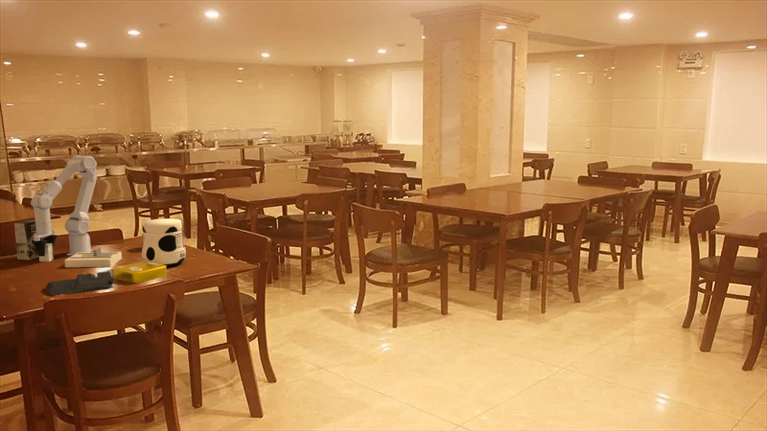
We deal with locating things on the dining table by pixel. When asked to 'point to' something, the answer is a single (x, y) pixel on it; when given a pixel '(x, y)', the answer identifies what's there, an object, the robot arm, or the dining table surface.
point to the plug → (47, 253)
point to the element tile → (140, 272)
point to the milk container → (163, 241)
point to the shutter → (98, 253)
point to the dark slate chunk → (81, 284)
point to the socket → (92, 260)
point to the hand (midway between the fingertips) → (45, 254)
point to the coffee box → (25, 240)
